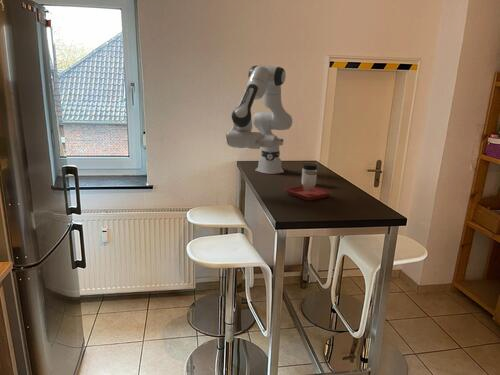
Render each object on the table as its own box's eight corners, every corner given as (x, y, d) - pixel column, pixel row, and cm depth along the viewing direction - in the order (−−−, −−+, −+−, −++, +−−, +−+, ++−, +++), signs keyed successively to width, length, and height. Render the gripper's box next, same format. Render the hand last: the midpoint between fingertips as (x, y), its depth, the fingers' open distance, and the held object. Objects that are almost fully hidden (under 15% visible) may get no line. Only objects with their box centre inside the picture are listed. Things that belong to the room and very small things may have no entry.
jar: (307, 186, 227) (309, 166, 223) (298, 183, 233) (299, 163, 230) (318, 185, 232) (320, 165, 228) (309, 181, 238) (311, 162, 235)
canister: (302, 187, 213) (305, 169, 210) (314, 189, 212) (317, 171, 209) (301, 190, 207) (304, 172, 204) (313, 192, 205) (316, 174, 203)
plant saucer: (283, 194, 211) (284, 188, 210) (307, 190, 222) (307, 184, 221) (307, 203, 197) (308, 196, 197) (331, 198, 208) (332, 192, 207)
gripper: (255, 137, 194) (282, 139, 193) (258, 132, 214) (284, 133, 212) (254, 149, 196) (282, 151, 194) (258, 143, 215) (283, 145, 214)
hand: (283, 142), depth 203 cm, fingers open, 8 cm apart
